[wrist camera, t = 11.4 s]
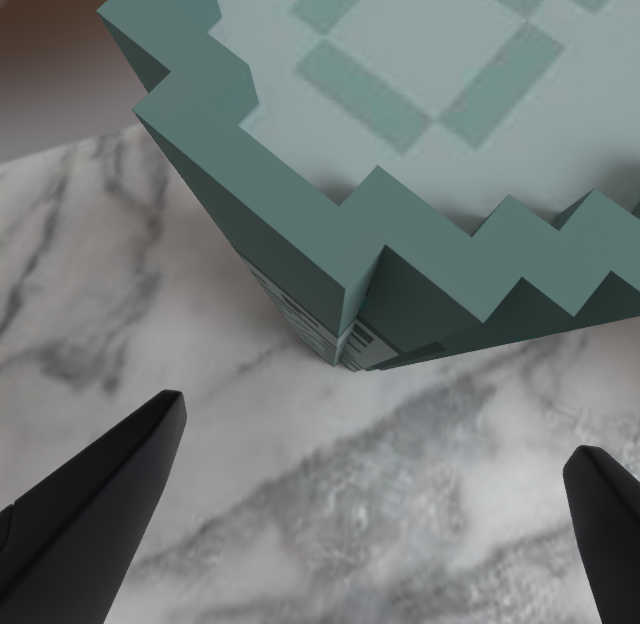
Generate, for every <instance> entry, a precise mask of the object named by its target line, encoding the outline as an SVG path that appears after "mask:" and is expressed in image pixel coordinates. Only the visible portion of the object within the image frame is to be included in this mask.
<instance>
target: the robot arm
mask: <svg viewBox="0 0 640 624" xmlns="http://www.w3.org/2000/svg"><path fill="white" fill-rule="evenodd" d="M186 420H187V413H186V408H185V402H184V396H183V394H182V392H180V391H175V390H163V391H161V392H160V393H158V394H157V395H156V396H154V397H153V398H152V399H150V400H149V401H148V402H146V403H145V404H144V405H142V406H141V407H140V408H138V409H137V410H136V411H134V412H133V413H132V414H130V415H129V416H128V417H126V418H125V419H124V420H122V421H121V422H120V423H118V424H117V425H116V426H114V427H113V428H112V429H110V430H109V431H108V432H106V433H105V434H104V435H102V436H101V437H100V438H98V439H97V440H96V441H94V442H93V443H92V444H90V445H89V446H88V447H86V448H85V449H84V450H82V451H81V452H80V453H78V454H77V455H76V456H74V457H73V458H72V459H70V460H69V461H68V462H66V463H65V464H64V465H62V466H61V467H60V468H58V469H57V470H56V471H54V472H53V473H52V474H50V475H49V476H48V477H46V478H45V479H44V480H42V481H41V482H40V483H38V484H37V485H36V486H34V487H33V488H32V489H30V490H29V491H28V492H26V493H25V494H24V495H22V496H21V497H20V498H18V499H17V500H16V501H15V502H14V505H13V504H10V505H9V506H7V507H6V508H5V509H3V510H2V511H1V512H0V624H103V623H104V621H105V619H106V616H107V614H108V612H109V610H110V608H111V605H112V603H113V601H114V599H115V597H116V594H117V592H118V590H119V588H120V586H121V583H122V581H123V579H124V577H125V574H126V572H127V570H128V568H129V566H130V563H131V561H132V559H133V557H134V555H135V552H136V550H137V548H138V546H139V544H140V541H141V539H142V537H143V535H144V532H145V530H146V528H147V526H148V524H149V521H150V519H151V517H152V515H153V513H154V510H155V508H156V506H157V504H158V502H159V499H160V497H161V495H162V492H163V490H164V488H165V485H166V482H167V479H168V477H169V474H170V470H171V467H172V464H173V461H174V458H175V455H176V452H177V449H178V446H179V443H180V440H181V437H182V434H183V431H184V428H185V425H186ZM563 479H564V484H565V489H566V493H567V498H568V503H569V508H570V513H571V517H572V522H573V527H574V532H575V536H576V540H577V545H578V548H579V552H580V555H581V558H582V562H583V565H584V568H585V571H586V574H587V577H588V580H589V584H590V587H591V590H592V593H593V596H594V599H595V602H596V606H597V609H598V612H599V615H600V618H601V621H602V624H640V482H639V481H638V480H637V479H636V478H635V477H634V476H632V475H631V474H630V473H629V472H628V471H627V470H626V469H625V468H624V467H622V466H621V465H620V464H619V463H618V462H617V461H616V460H615V459H614V458H612V457H611V456H610V455H609V454H608V453H607V452H606V451H604V450H603V449H602V448H599V447H594V446H587V445H581V446H579V447H577V448H576V450H575V451H574V453H573V454H572V456H571V457H570V458H569V460H568V461H567V463H566V464H565V466H564V468H563Z"/></svg>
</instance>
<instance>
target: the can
mask: <svg viewBox="0 0 640 624" xmlns="http://www.w3.org/2000/svg"><path fill="white" fill-rule="evenodd" d="M97 13H98V15H99V16H100V18H101V19H102V21H103V22H104V24H105V26H106V27H107V29H108V30H109V32H110V33H111V35H112V36H113V38H114V40H115V41H116V42H117V44H118V46H119V47H120V49H121V51H122V52H123V54H124V55H125V57H126V59H127V60H128V62H129V63H130V65H131V66H132V68H133V70H134V71H135V72H136V74H137V75H138V77H139V79H140V80H141V82H142V84H143V85H144V87H145V88H146V90H147V92H148V93H149V94H148V95H147V96H146V97H145V98H144V99H143V100H142V101H140V102H139V103H138V104H137V106H136V107H134V108H133V109H132V110H133V112H134V113H135V114H136V116H137V117H138V118H139V120H140V121H141V123H142V124H143V125H144V127H145V128H146V129H147V131H148V132H149V133H150V135H151V136H152V138H153V139H154V140H155V142H156V143H157V144H158V146H159V147H160V148H161V150H162V151H163V152H164V154H165V155H166V157H167V158H168V159H169V161H170V162H171V163H172V165H173V166H174V167H175V169H176V170H177V171H178V173H179V174H180V176H181V177H182V178H183V180H184V181H185V182H186V184H187V185H188V186H189V188H190V189H191V190H192V192H193V193H194V195H195V196H196V197H197V199H198V200H199V201H200V203H201V204H202V205H203V207H204V208H205V210H206V211H207V212H208V214H209V215H210V216H211V218H212V219H213V220H214V222H215V223H216V224H217V226H218V227H219V229H220V230H221V231H222V233H223V234H224V235H225V237H226V238H227V239H228V241H229V242H230V243H231V245H232V246H233V248H234V249H235V250H236V252H237V253H238V254H239V256H240V257H241V258H242V260H243V261H244V262H245V264H246V265H247V267H248V268H249V269H250V271H251V272H252V273H253V275H254V276H255V277H256V279H257V280H258V281H259V283H260V284H261V286H262V287H263V288H264V290H265V291H266V292H267V294H268V295H269V296H270V298H271V299H272V301H273V302H274V303H275V305H276V306H277V307H278V309H279V310H280V311H281V313H282V314H283V315H284V317H285V318H286V320H287V321H288V322H289V324H290V325H291V326H292V328H293V329H294V330H295V332H296V333H297V334H298V336H299V337H300V338H301V339H302V340H304V341H305V342H306V343H307V344H308V345H309V346H310V347H312V348H313V349H314V350H315V351H316V352H317V353H318V354H320V355H321V356H322V357H323V358H324V359H325V360H326V361H328V362H329V363H330V364H331V365H332V366H333V367H334V366H335V365H336V364H337V363H338V362H339V360H341V361H342V362H343V363H344V364H345V365H346V366H347V367H349V368H350V369H351V370H352V371H353V372H356V371H359V370H362V369H365V370H366V371H371V370H375V369H380V370H386V369H391V368H395V367H400V366H405V365H410V364H414V363H419V362H424V361H429V360H433V359H438V358H443V357H448V356H452V355H457V354H462V353H466V352H471V351H476V350H481V349H485V348H490V347H495V346H500V345H504V344H509V343H514V342H519V341H523V340H528V339H533V338H538V337H542V336H547V335H552V334H557V333H561V332H566V331H571V330H576V329H580V328H585V327H590V326H595V325H599V324H604V323H609V322H614V321H618V320H623V319H628V318H632V317H637V316H640V0H108V1H106V2H105V3H104V4H103V5H102V6H101V7H100V8H99V9H98V10H97Z"/></svg>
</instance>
